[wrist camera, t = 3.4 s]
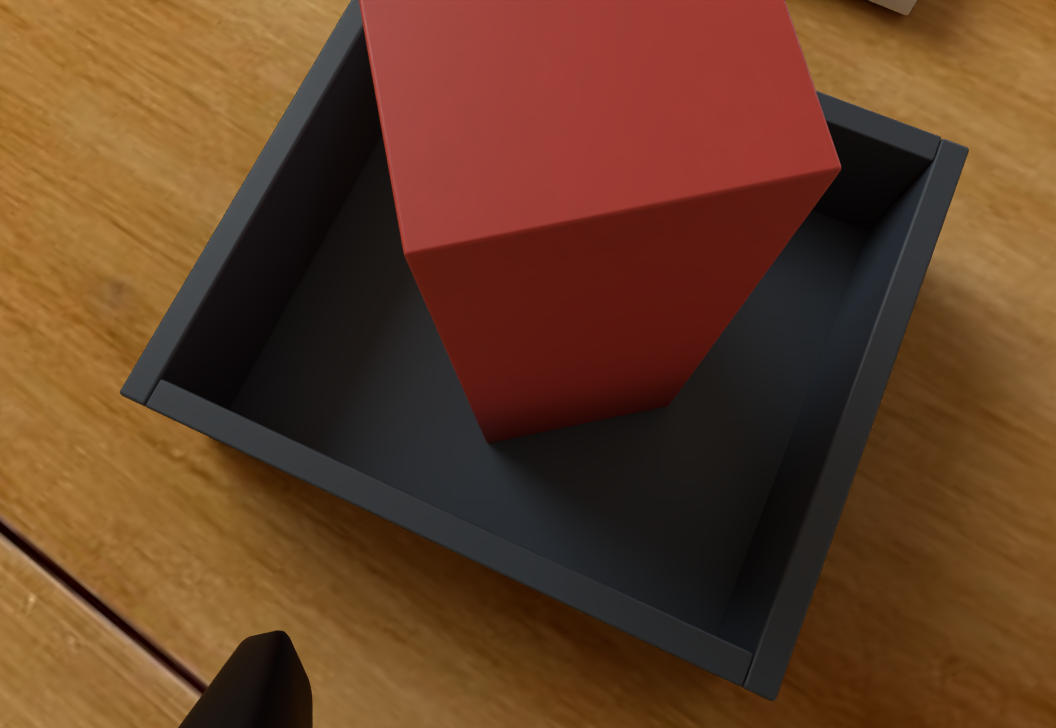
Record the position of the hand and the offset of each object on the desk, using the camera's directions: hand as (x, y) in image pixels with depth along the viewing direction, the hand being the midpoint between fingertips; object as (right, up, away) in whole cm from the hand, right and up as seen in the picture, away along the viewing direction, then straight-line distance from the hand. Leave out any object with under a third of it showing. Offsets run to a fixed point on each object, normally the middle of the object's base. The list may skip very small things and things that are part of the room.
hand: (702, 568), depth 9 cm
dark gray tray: (-1, +3, +14) cm, 15 cm away
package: (-1, +3, +14) cm, 14 cm away
